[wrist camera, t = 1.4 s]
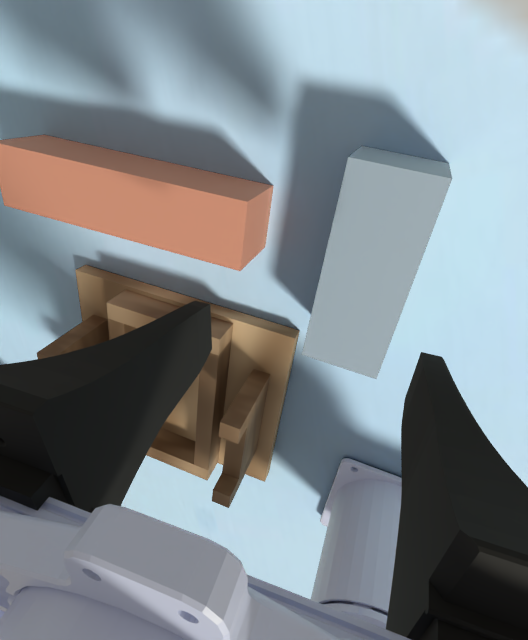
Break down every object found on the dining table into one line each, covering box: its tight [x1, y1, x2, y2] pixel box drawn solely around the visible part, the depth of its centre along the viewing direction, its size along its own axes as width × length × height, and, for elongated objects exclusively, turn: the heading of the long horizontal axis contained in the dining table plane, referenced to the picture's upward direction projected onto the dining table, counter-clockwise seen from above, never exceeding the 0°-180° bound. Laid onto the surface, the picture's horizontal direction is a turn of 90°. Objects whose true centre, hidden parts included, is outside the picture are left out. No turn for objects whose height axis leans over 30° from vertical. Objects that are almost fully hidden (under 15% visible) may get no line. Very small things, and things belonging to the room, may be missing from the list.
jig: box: [37, 265, 300, 508], centre depth 28 cm, size 16×14×6 cm
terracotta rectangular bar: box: [0, 135, 273, 271], centre depth 23 cm, size 15×4×4 cm, turn 83°
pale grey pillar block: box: [302, 146, 452, 379], centre depth 20 cm, size 4×10×4 cm, turn 172°
